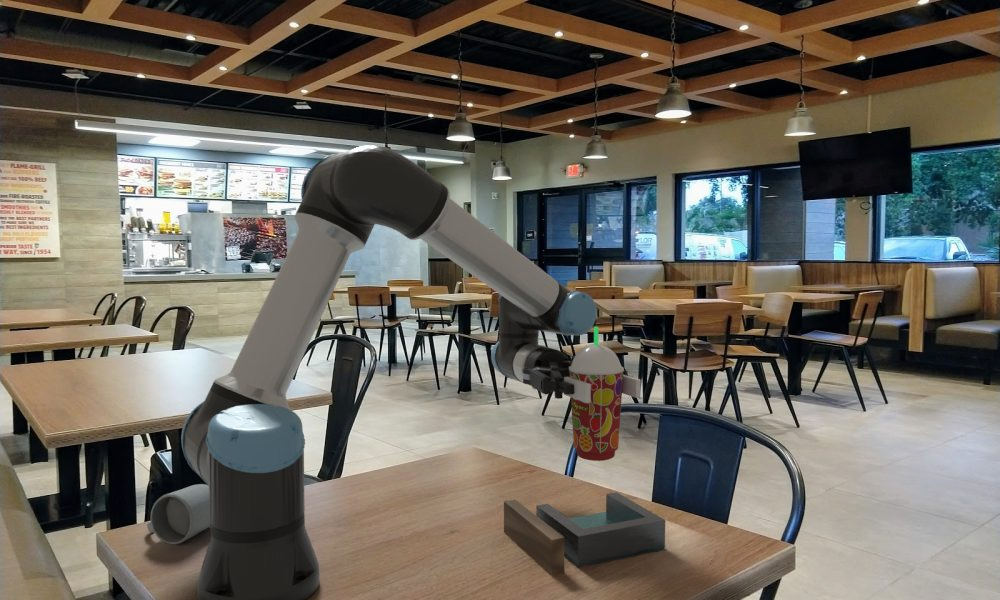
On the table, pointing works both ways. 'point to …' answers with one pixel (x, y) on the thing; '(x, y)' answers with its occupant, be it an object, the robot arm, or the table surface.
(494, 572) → the table surface
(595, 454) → the smoothie
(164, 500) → the ceramic mug
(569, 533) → the keyed cradle
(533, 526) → the walnut rail
